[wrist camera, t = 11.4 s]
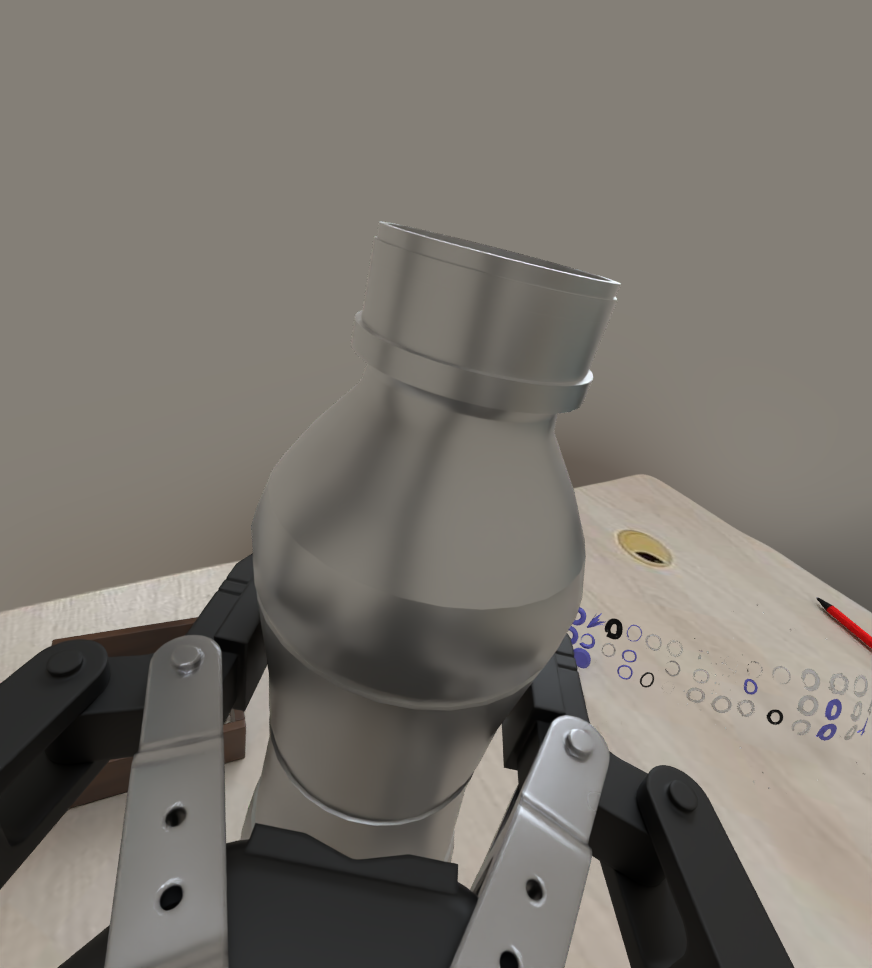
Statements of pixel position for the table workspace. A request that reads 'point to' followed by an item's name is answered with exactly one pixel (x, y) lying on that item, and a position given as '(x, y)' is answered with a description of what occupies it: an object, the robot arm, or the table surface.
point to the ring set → (584, 661)
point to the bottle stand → (142, 643)
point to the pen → (847, 622)
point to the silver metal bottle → (422, 542)
